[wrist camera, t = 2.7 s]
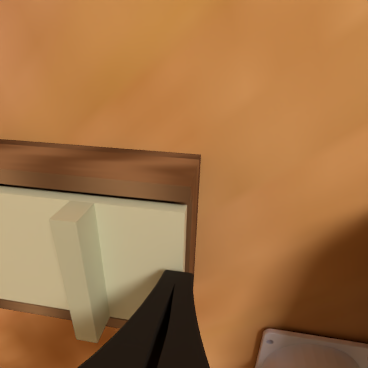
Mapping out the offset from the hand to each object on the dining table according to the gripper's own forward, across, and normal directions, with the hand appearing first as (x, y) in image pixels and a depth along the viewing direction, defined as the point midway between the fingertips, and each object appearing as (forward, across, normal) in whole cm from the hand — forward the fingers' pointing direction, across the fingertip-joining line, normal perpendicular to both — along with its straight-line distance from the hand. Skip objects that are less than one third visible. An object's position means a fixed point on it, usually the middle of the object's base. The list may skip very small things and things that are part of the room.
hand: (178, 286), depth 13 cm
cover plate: (+1, +6, 0) cm, 6 cm away
